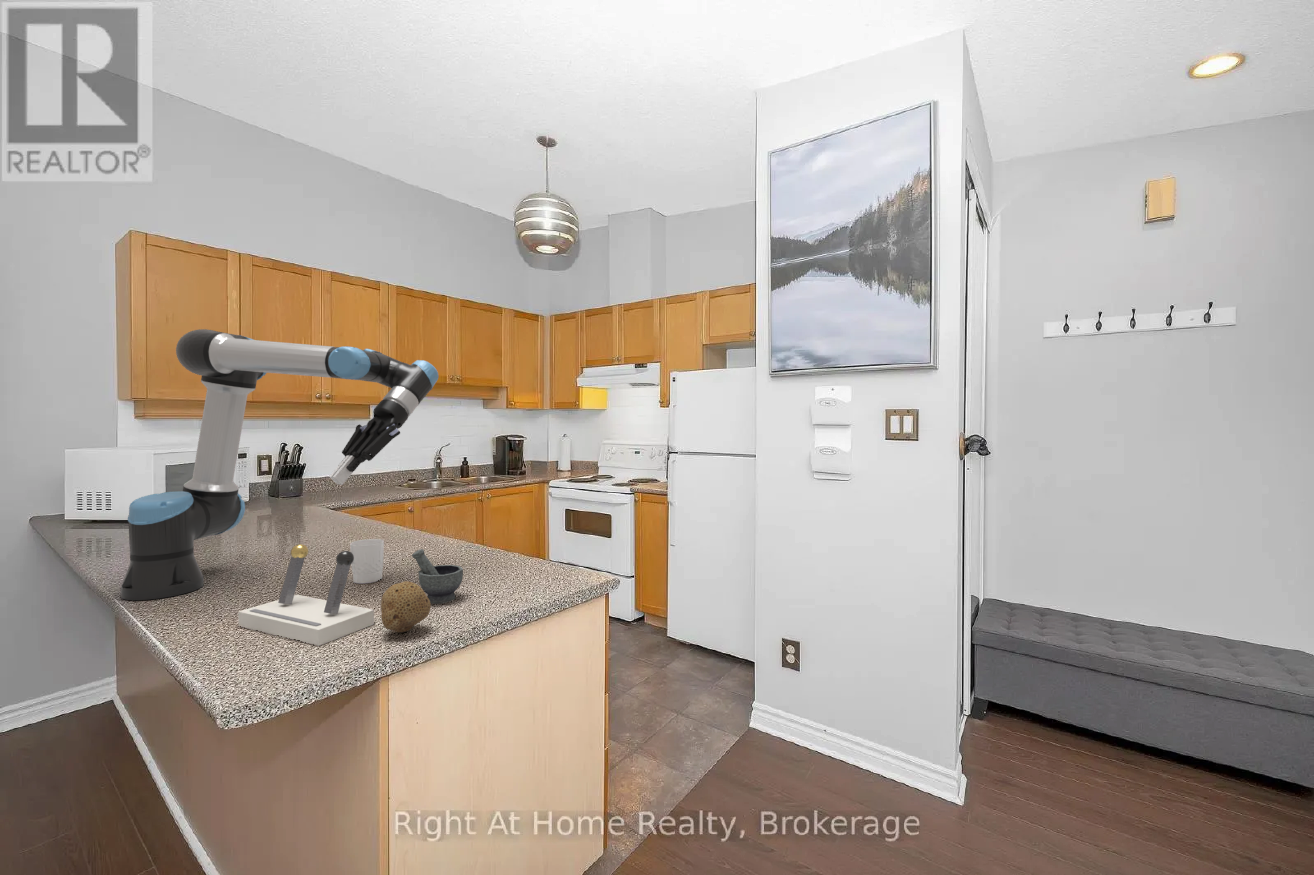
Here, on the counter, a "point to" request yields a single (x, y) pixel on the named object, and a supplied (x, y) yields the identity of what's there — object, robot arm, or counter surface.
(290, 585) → the brass lever
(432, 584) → the mortar and pestle
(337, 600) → the black lever
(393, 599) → the natural sponge
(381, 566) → the white cup
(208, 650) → the counter surface
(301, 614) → the control panel
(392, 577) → the counter surface
